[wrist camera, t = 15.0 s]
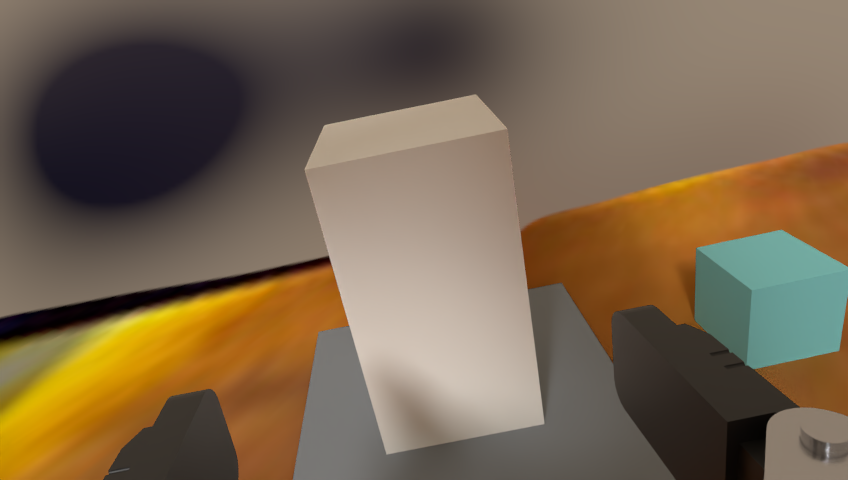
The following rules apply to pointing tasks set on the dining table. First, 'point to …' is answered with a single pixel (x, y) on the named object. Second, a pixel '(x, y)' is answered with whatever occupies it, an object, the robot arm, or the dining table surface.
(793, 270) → the block
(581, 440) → the mat
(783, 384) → the dining table surface
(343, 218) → the cream rectangular box
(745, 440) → the robot arm
